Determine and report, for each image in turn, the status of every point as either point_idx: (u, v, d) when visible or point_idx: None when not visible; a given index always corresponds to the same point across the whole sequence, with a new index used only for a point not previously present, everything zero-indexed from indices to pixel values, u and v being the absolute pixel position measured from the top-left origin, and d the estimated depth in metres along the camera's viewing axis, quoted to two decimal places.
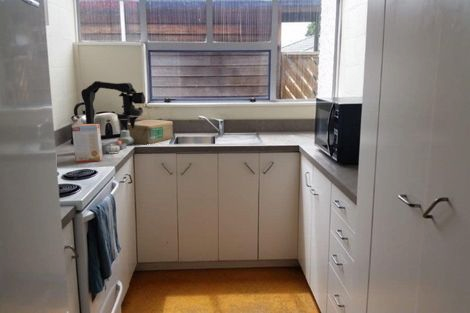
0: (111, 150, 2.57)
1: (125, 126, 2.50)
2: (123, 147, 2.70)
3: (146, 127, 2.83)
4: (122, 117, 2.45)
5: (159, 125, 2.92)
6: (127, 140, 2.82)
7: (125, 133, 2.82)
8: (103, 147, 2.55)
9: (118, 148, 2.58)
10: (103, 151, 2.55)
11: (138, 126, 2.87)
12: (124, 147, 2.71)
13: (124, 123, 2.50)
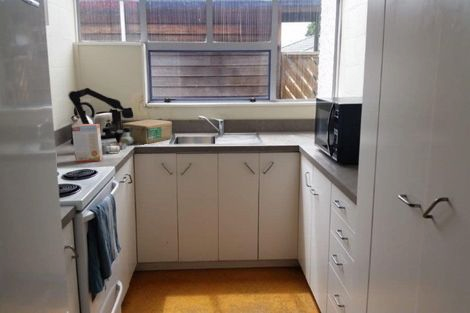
0: (111, 150, 2.57)
1: None
2: (123, 147, 2.70)
3: (144, 127, 2.83)
4: None
5: (157, 125, 2.92)
6: (127, 140, 2.82)
7: (125, 133, 2.82)
8: (103, 147, 2.55)
9: (118, 148, 2.58)
10: (103, 151, 2.55)
11: (136, 126, 2.87)
12: (124, 147, 2.71)
13: None
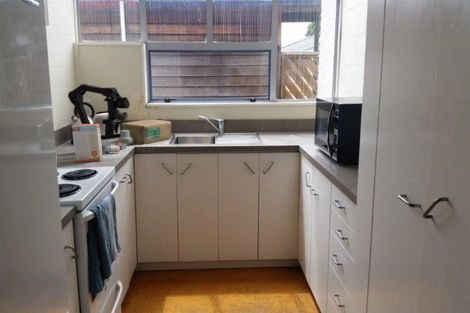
0: (111, 150, 2.57)
1: (111, 130, 2.52)
2: (123, 147, 2.70)
3: (142, 127, 2.84)
4: (106, 122, 2.45)
5: (156, 125, 2.92)
6: (127, 140, 2.82)
7: (125, 133, 2.82)
8: (103, 147, 2.55)
9: (118, 148, 2.58)
10: (103, 151, 2.55)
11: (135, 126, 2.88)
12: (124, 147, 2.71)
13: (110, 127, 2.51)
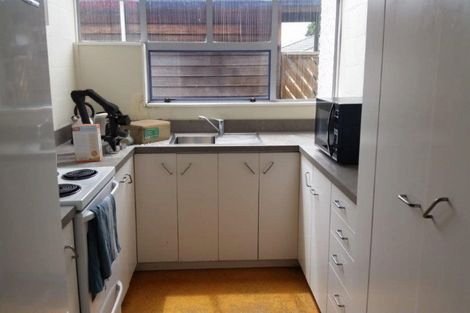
0: (111, 150, 2.57)
1: (113, 147, 2.55)
2: (123, 147, 2.70)
3: (140, 127, 2.84)
4: (108, 139, 2.47)
5: (154, 125, 2.92)
6: (127, 140, 2.82)
7: None
8: (103, 147, 2.55)
9: (118, 148, 2.58)
10: (103, 151, 2.55)
11: (133, 126, 2.88)
12: (124, 147, 2.71)
13: (112, 144, 2.54)
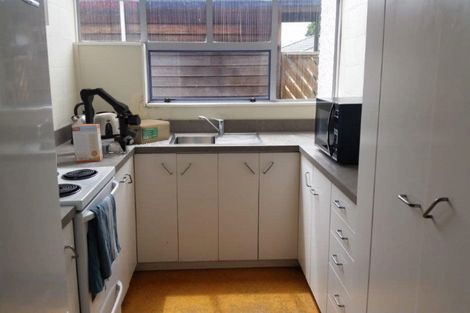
0: (121, 150, 2.56)
1: (123, 147, 2.54)
2: None
3: (139, 127, 2.84)
4: (118, 139, 2.46)
5: (153, 125, 2.92)
6: None
7: None
8: (103, 147, 2.55)
9: (128, 148, 2.57)
10: (103, 151, 2.55)
11: (132, 126, 2.89)
12: None
13: (122, 144, 2.53)
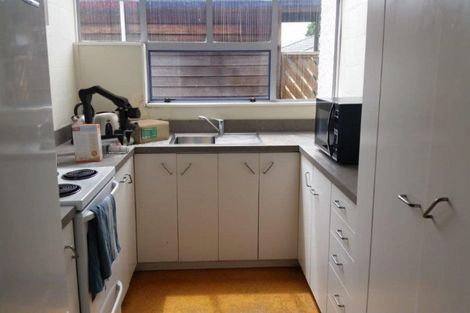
0: (121, 150, 2.56)
1: (121, 141, 2.50)
2: None
3: None
4: (118, 132, 2.45)
5: (152, 125, 2.92)
6: None
7: None
8: (103, 147, 2.55)
9: (128, 148, 2.57)
10: (103, 151, 2.55)
11: None
12: None
13: (120, 138, 2.50)
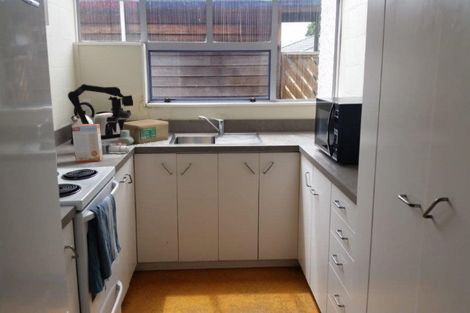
0: (121, 150, 2.56)
1: (114, 128, 2.62)
2: None
3: (136, 127, 2.85)
4: (111, 119, 2.57)
5: (151, 125, 2.92)
6: (127, 140, 2.82)
7: (125, 133, 2.82)
8: (103, 147, 2.55)
9: (128, 148, 2.57)
10: (103, 151, 2.55)
11: (130, 126, 2.90)
12: None
13: (113, 125, 2.62)
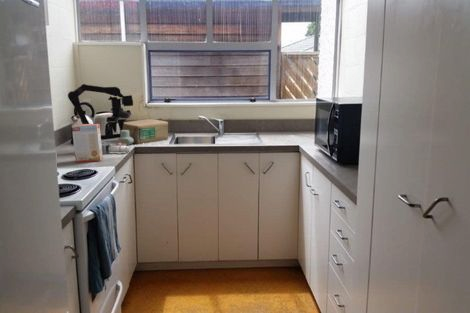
0: (121, 150, 2.56)
1: (114, 128, 2.62)
2: None
3: (135, 127, 2.85)
4: (111, 119, 2.57)
5: (151, 125, 2.92)
6: (127, 140, 2.82)
7: (125, 133, 2.82)
8: (103, 147, 2.55)
9: (128, 148, 2.57)
10: (103, 151, 2.55)
11: (130, 126, 2.90)
12: None
13: (113, 125, 2.62)
